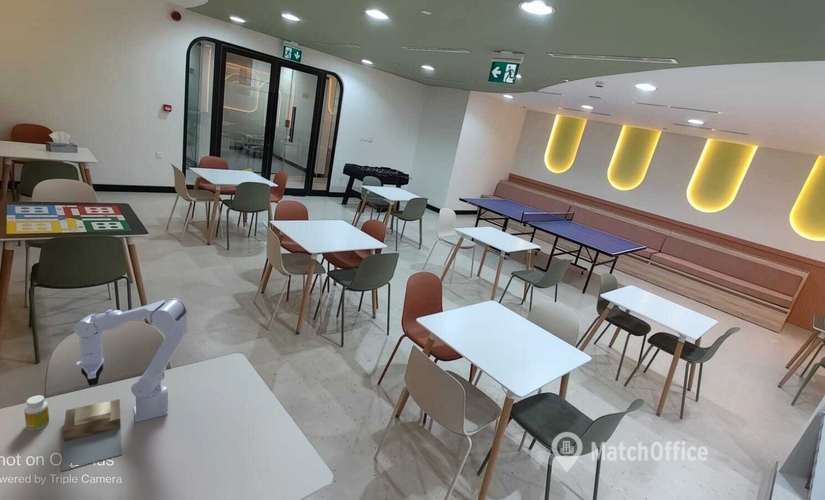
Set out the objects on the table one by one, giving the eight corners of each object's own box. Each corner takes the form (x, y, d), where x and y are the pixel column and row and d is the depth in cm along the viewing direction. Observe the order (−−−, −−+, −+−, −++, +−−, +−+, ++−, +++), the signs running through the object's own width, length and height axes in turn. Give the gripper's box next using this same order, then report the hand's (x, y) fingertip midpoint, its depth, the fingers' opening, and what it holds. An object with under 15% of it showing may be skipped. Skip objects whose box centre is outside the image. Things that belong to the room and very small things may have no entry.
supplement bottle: (35, 432, 122) (32, 407, 119) (21, 427, 123) (18, 402, 120) (54, 421, 127) (51, 396, 124) (40, 416, 128) (37, 391, 125)
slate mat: (120, 428, 130) (120, 428, 129) (121, 455, 121) (121, 454, 121) (64, 442, 121) (64, 441, 121) (60, 471, 112) (60, 470, 112)
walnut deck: (119, 408, 137) (119, 399, 136) (120, 428, 130) (120, 418, 129) (66, 420, 129) (66, 410, 127) (64, 441, 121) (63, 431, 120)
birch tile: (110, 405, 133) (110, 400, 132) (110, 417, 128) (110, 412, 128) (75, 413, 127) (75, 408, 127) (74, 425, 123) (74, 420, 122)
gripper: (77, 340, 132) (79, 374, 136) (74, 364, 121) (76, 400, 125) (103, 336, 136) (104, 369, 140) (103, 359, 126) (104, 395, 130)
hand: (93, 384), depth 133 cm, fingers closed
